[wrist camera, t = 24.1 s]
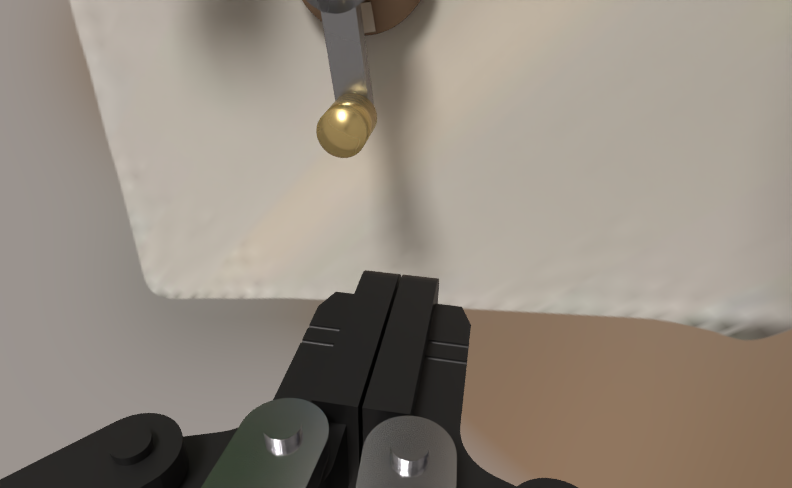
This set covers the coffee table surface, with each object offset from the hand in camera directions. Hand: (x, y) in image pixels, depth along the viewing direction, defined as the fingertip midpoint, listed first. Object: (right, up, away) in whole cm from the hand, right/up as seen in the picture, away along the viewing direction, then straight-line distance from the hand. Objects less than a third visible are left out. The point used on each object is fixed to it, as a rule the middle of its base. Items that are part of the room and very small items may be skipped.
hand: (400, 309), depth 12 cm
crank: (-3, +13, +21) cm, 25 cm away
